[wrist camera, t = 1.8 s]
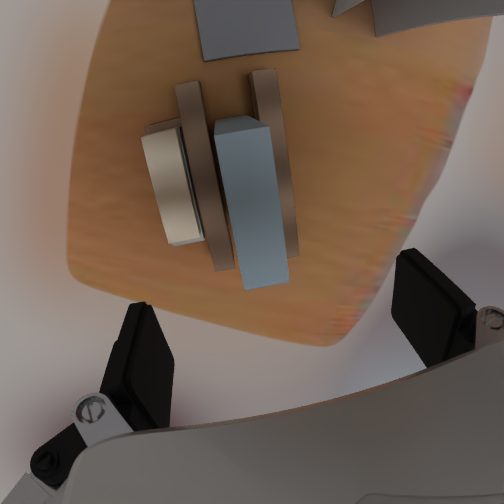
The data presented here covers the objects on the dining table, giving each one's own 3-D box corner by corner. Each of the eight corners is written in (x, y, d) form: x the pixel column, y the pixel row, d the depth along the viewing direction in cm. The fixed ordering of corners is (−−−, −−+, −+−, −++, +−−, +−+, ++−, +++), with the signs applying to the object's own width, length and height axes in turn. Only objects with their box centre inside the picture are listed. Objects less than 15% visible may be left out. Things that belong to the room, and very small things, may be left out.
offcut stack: (148, 125, 28) (136, 130, 24) (182, 116, 28) (176, 119, 24) (175, 235, 33) (169, 256, 29) (206, 228, 33) (205, 249, 29)
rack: (179, 87, 26) (174, 85, 23) (268, 72, 27) (275, 68, 23) (215, 253, 35) (215, 271, 31) (290, 238, 35) (299, 255, 32)
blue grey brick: (215, 120, 28) (214, 135, 16) (246, 114, 29) (269, 126, 16) (233, 214, 33) (244, 290, 21) (261, 209, 33) (289, 281, 21)
